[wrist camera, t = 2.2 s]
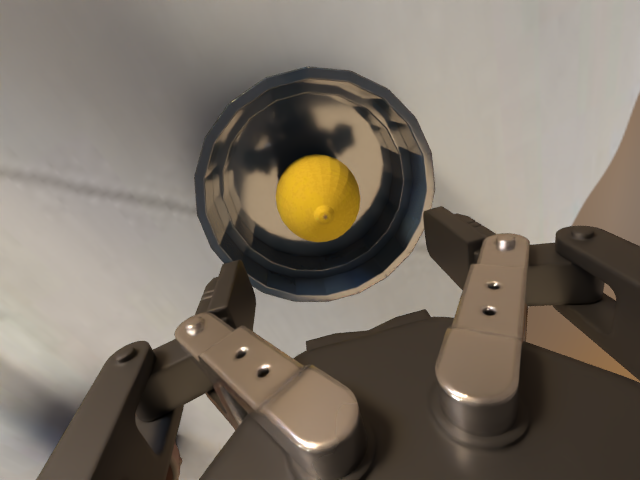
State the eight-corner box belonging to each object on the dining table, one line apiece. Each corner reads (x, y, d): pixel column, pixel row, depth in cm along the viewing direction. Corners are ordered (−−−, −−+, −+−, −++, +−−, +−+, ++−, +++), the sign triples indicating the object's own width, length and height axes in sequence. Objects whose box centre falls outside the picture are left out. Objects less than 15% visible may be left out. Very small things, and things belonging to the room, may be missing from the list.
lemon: (354, 205, 27) (382, 246, 20) (288, 224, 27) (292, 272, 20) (337, 136, 25) (362, 154, 17) (266, 158, 25) (260, 184, 17)
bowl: (179, 105, 23) (151, 107, 18) (390, 49, 23) (421, 36, 18) (249, 285, 29) (243, 324, 24) (415, 241, 29) (443, 271, 24)
